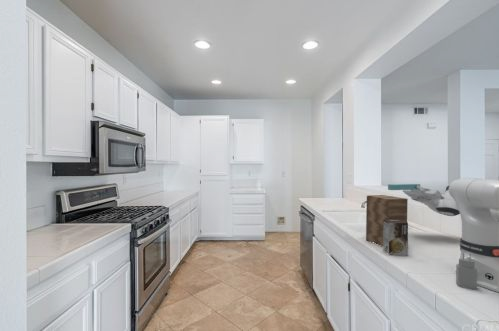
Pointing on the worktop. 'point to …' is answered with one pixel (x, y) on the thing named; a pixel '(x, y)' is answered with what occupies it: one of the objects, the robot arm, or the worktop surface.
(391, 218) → the walnut stand
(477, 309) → the worktop surface
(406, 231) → the coffee box
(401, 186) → the teal bar
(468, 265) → the power adapter
